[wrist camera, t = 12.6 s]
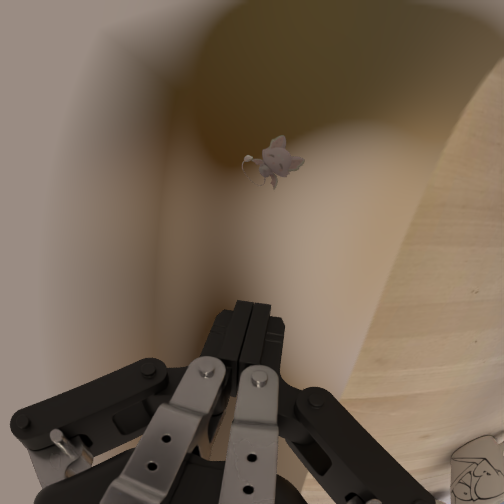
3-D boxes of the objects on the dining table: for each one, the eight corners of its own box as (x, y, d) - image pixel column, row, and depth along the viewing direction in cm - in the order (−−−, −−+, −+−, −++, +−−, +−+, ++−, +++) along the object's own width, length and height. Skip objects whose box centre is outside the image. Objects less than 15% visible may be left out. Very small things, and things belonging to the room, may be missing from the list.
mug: (522, 409, 19) (543, 473, 10) (514, 433, 21) (528, 488, 12) (441, 451, 23) (451, 520, 14) (444, 467, 25) (451, 524, 17)
